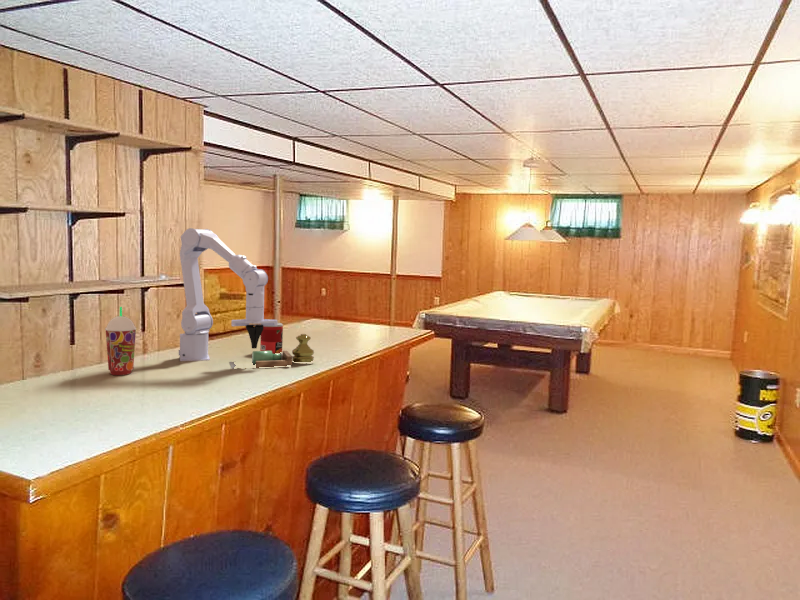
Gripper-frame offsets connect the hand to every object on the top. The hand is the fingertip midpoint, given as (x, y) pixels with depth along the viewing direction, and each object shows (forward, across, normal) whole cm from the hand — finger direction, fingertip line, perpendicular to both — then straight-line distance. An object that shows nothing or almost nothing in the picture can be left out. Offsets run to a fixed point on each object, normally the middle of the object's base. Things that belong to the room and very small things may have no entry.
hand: (254, 347), depth 198 cm
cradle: (+6, +2, 0) cm, 6 cm away
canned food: (+6, +9, +21) cm, 23 cm away
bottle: (+3, 0, +1) cm, 3 cm away
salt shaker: (+6, +17, +2) cm, 18 cm away
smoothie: (+6, -39, -5) cm, 40 cm away
